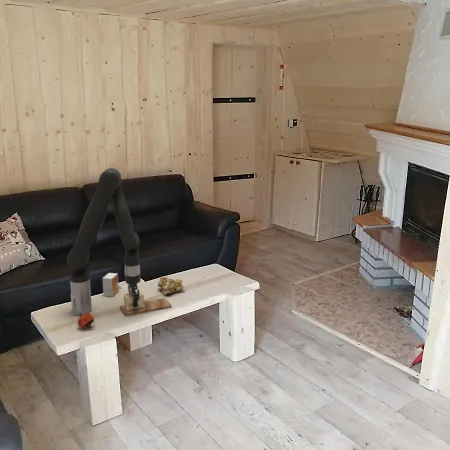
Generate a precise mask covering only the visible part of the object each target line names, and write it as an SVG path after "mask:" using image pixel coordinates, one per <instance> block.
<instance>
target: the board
mask: <svg viewBox="0 0 450 450" xmlns="http://www.w3.org/2000/svg"><path fill="white" fill-rule="evenodd" d="M171 308H172V305H171V303H170V302H169V300H167V298H166V297H163V298H158V299H151V300H146V301H144V308H141V309H135V310H130V311H126V309H125V307H124V305H120V306H119V309H120V310H121V313H122V314H123V315H124V317H129V316H134V315H139V314H145V313H149V312H151V313H152V312H156V311H159V310H165V309H171Z"/></svg>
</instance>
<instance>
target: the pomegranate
mask: <svg viewBox="0 0 450 450" xmlns="http://www.w3.org/2000/svg"><path fill="white" fill-rule="evenodd" d="M94 317H95V316H94V315H93V314H91V313H89V314H88V313H85V314H83V315H82V314H81V313H80V315H79V318H78V319H77V325H78V328H80V329H82V330H83V329H86V328H87V327H89V328H90V330H93V329H92V327H91V325H92V324H93V323H94V322H95V318H94Z"/></svg>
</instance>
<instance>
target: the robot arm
mask: <svg viewBox="0 0 450 450" xmlns="http://www.w3.org/2000/svg"><path fill="white" fill-rule="evenodd" d="M91 199H92V200H91V201H90V203H89V205H88V207H87V209H86V211H85V214H84V215H83V218H82V221H81V223H80V224H81V225H80V226H79V227H80V228H79V229H78V234H77V238H76V240H75V241H74V244H73V247H72V248H71V250H70V252H69V253H68V255H67V258H66V262H67V265H68V267H69V268H70V272H69V282H70V285H69V286H70V292H71V293H70V301H71V312H72V314H73V316H80V313H81V314H82V315H83V314H85V313H88V314H91V313H92V311H93V307H92V306H93V305H92V304H93V303H92V292H91V278H90V271H91V267H90V254H89V253H90V252H91V251H90V250H91V248H92V245H93V243H94V241H95V240H96V239H97V236H98V234H99V233H100V230H101V229H102V227H103V224H104V222H105V219H106V216H107V214H108V209H109V208H108V207H109V205H110V204H109V203H110V201H111V202H112V207H113V213H114V216H115V220H116V223H117V226H118V228H119V235H120V239H121V243H122V245H123V247H124V248H125V254H124V282H125V283H126V285H127V290H128V292H127V293H131V295H132V297H133V307H137V306H138V300H139V292H140V289H139V285H138V284H140V283H141V281H142V280H141V267H140V242H141V241H140V237H139V235H138V234H137V233H136V232H135V231H134V222H133V219H132V216H131V211H130V210H129V207H128V206H129V205H128V203H127V201H126V198H125V193H124V188H123V182H122V175H121V173H120V171H118V170H117V169H116V168H113V167H109V168H106V169H105V170H104V171H102V172H101V173H100V175H99V179H98V182H97V186H96V189H95V193H94V196H93V198H91ZM133 293H134V294H133ZM135 297H136V298H135Z"/></svg>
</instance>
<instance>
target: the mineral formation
mask: <svg viewBox="0 0 450 450" xmlns="http://www.w3.org/2000/svg"><path fill="white" fill-rule="evenodd" d="M157 287H159V289H162V294H164V295H163V296H167V295H168V294H169V295H172V293H175V292H180V291H181V289H184V288H185V286H184V285H183V280H181V279H179V278H176V279H173V278H169V277H167V276H160V277H159V281H158V283H157Z"/></svg>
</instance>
